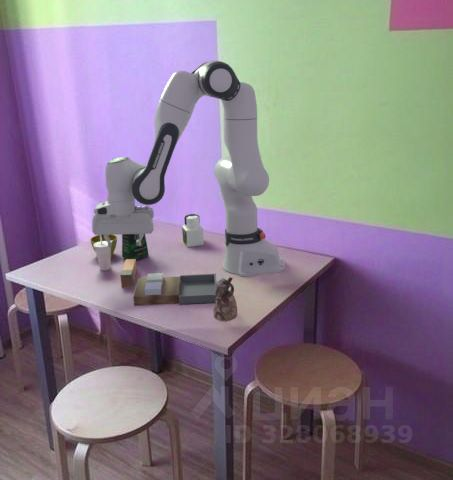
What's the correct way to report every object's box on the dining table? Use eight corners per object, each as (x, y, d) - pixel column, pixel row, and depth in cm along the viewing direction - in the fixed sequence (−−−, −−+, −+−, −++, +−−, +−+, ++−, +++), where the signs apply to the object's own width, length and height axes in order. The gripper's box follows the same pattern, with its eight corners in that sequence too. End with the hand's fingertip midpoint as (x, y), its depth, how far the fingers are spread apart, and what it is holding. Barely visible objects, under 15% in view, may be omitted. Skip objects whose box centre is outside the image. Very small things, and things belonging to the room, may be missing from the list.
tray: (216, 281, 178) (215, 273, 177) (217, 303, 163) (217, 294, 162) (180, 283, 177) (180, 275, 176) (179, 305, 162) (178, 296, 161)
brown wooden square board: (180, 284, 176) (180, 276, 175) (179, 303, 163) (178, 295, 162) (138, 286, 176) (138, 278, 175) (134, 305, 163) (133, 297, 162)
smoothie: (106, 263, 195) (102, 228, 190) (117, 267, 191) (114, 231, 187) (92, 269, 191) (88, 233, 186) (103, 273, 187) (99, 236, 182)
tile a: (163, 278, 174) (163, 273, 173) (162, 284, 169) (162, 279, 169) (148, 279, 174) (147, 273, 173) (147, 285, 169) (146, 280, 168)
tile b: (162, 287, 167) (161, 281, 167) (161, 294, 163) (160, 288, 162) (146, 288, 167) (146, 282, 167) (145, 295, 163) (144, 289, 162)
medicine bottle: (182, 241, 215) (181, 213, 211) (199, 239, 217) (198, 211, 213) (186, 247, 209) (185, 219, 205) (204, 245, 211) (202, 216, 206)
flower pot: (123, 251, 207) (121, 234, 204) (111, 261, 197) (109, 243, 195) (100, 250, 209) (97, 233, 206) (87, 259, 200) (85, 242, 197)
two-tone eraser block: (136, 270, 189) (135, 258, 187) (132, 287, 176) (131, 274, 174) (126, 270, 189) (125, 259, 187) (121, 287, 175) (120, 275, 174)
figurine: (209, 312, 157) (208, 276, 153) (231, 307, 160) (230, 271, 155) (219, 323, 151) (217, 285, 147) (241, 318, 153) (240, 280, 149)
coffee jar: (131, 263, 195) (126, 216, 189) (119, 258, 200) (114, 211, 194) (152, 255, 201) (148, 209, 195) (139, 251, 207) (135, 206, 200)
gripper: (153, 203, 176) (156, 241, 181) (92, 204, 175) (96, 243, 180) (152, 208, 170) (154, 248, 175) (89, 210, 170) (93, 249, 174)
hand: (124, 245), depth 178 cm, fingers open, 8 cm apart
